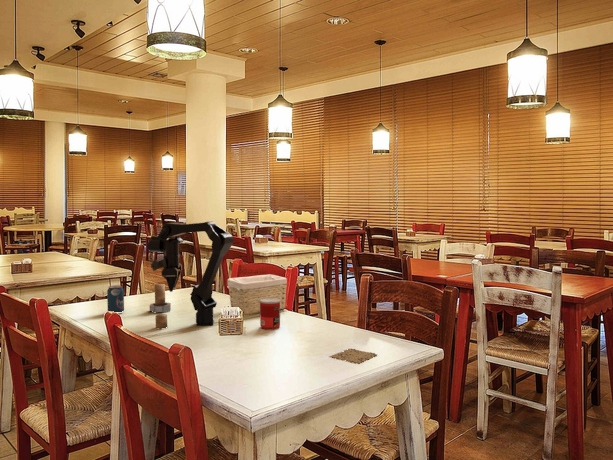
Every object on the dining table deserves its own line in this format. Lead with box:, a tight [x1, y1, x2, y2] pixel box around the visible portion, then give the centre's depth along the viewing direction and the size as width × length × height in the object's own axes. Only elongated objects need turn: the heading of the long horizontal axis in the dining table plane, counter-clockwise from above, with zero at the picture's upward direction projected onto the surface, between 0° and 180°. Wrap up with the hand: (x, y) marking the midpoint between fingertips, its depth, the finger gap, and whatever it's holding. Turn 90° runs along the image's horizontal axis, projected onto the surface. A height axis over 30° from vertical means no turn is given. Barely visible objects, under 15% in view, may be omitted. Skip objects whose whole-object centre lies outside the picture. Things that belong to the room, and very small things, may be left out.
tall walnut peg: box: [154, 283, 166, 306], centre depth 239 cm, size 4×4×12 cm
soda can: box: [106, 284, 125, 312], centre depth 235 cm, size 7×7×12 cm
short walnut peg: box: [155, 313, 168, 329], centre depth 209 cm, size 4×4×5 cm
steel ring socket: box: [149, 301, 172, 313], centre depth 240 cm, size 9×9×3 cm
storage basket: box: [227, 273, 288, 315], centre depth 242 cm, size 24×16×15 cm
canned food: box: [259, 298, 281, 331], centre depth 210 cm, size 8×8×11 cm
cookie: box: [328, 348, 378, 365], centre depth 173 cm, size 12×12×1 cm
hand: (172, 289), depth 221 cm, fingers open, 9 cm apart
